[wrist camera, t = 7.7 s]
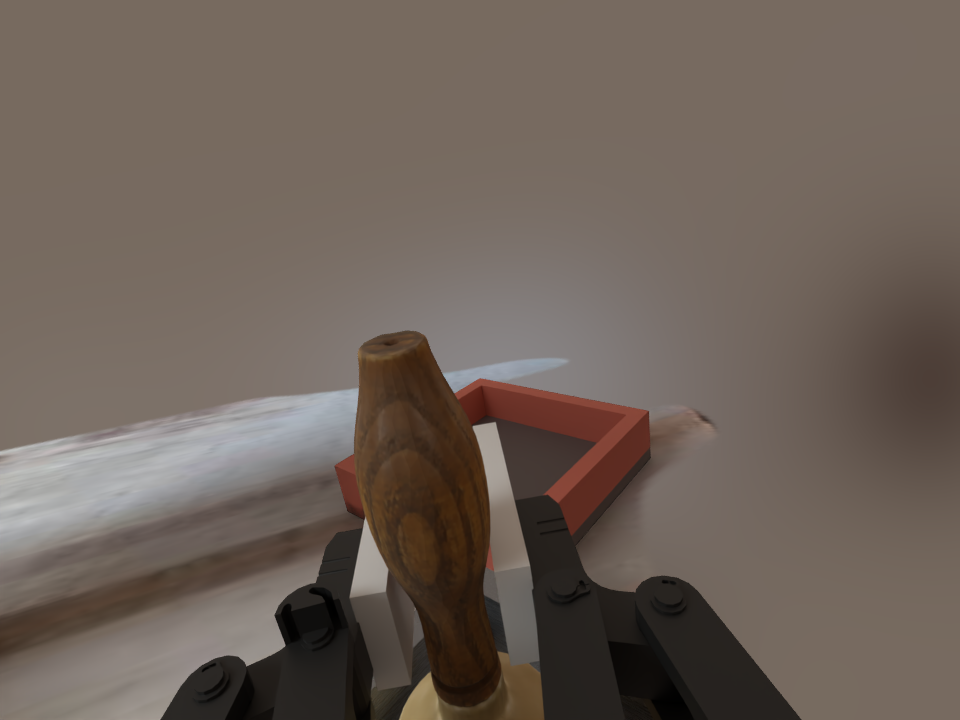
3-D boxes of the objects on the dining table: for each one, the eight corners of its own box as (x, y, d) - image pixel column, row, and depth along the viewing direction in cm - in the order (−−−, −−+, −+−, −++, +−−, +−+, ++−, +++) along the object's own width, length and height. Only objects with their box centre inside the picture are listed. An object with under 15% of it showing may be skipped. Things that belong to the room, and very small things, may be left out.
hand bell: (712, 856, 14) (721, 301, 9) (478, 1216, 10) (196, 567, 4) (514, 663, 21) (446, 269, 15) (318, 832, 16) (118, 365, 11)
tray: (347, 511, 33) (334, 465, 32) (485, 416, 43) (479, 378, 42) (525, 603, 24) (516, 545, 23) (650, 457, 34) (648, 410, 33)
